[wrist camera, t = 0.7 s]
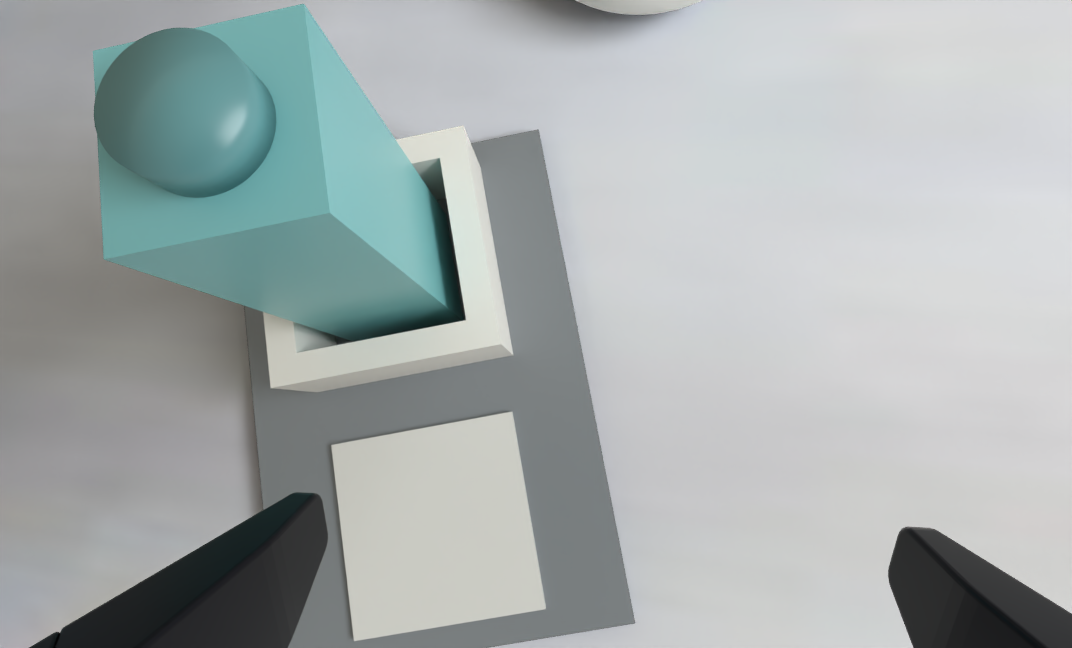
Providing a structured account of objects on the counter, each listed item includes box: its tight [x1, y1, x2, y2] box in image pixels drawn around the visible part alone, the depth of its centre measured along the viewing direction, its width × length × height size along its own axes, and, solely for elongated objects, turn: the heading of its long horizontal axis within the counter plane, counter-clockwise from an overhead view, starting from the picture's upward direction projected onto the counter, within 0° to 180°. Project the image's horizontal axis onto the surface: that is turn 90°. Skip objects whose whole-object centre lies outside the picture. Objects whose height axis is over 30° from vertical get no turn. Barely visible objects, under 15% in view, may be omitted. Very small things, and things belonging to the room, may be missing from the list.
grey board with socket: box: [244, 126, 635, 648], centre depth 21 cm, size 19×13×4 cm
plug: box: [93, 4, 463, 342], centre depth 16 cm, size 4×4×13 cm
